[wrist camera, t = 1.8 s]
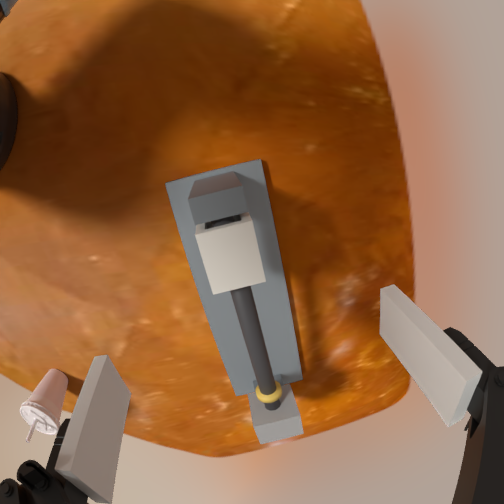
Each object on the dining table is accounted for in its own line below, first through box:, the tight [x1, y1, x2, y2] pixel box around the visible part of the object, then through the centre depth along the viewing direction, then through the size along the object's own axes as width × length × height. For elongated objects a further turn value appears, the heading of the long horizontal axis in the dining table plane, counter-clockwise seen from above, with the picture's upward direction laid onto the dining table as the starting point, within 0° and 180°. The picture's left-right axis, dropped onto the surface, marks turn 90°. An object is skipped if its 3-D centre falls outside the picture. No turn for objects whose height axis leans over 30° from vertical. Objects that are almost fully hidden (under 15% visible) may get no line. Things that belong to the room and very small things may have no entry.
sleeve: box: [195, 212, 266, 295], centre depth 25 cm, size 5×4×4 cm
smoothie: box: [20, 369, 68, 443], centre depth 32 cm, size 6×6×14 cm
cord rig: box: [165, 159, 304, 444], centre depth 32 cm, size 31×10×12 cm, turn 12°
